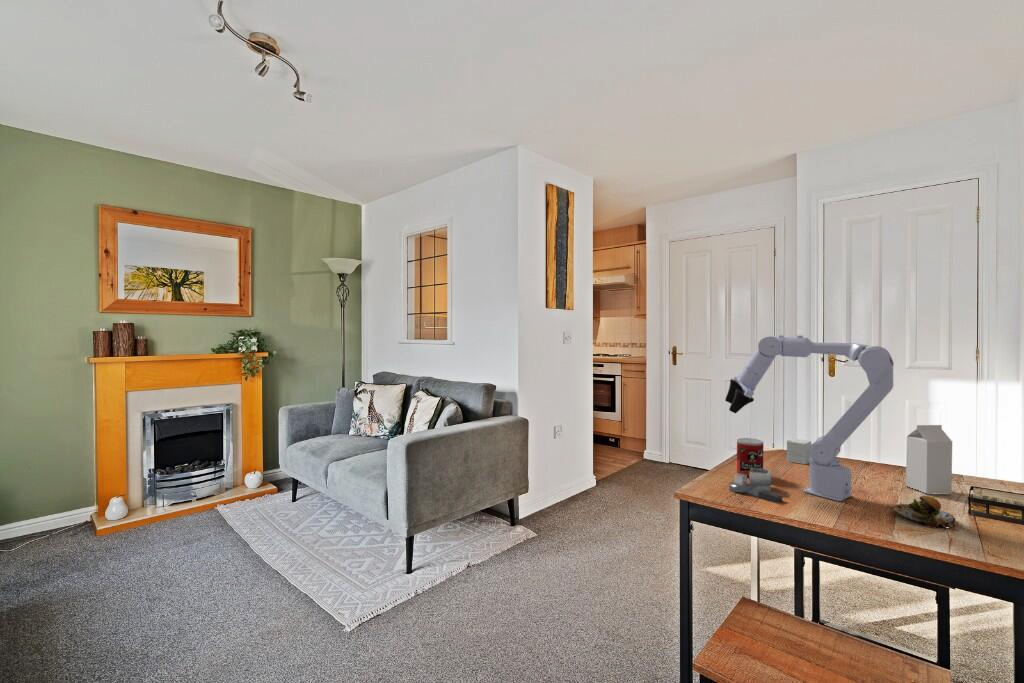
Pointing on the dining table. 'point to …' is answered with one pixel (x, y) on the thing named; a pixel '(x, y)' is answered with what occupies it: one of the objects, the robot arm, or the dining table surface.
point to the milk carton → (929, 460)
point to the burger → (926, 512)
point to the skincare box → (798, 451)
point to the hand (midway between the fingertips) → (730, 406)
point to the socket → (760, 478)
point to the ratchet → (752, 489)
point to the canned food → (749, 455)
